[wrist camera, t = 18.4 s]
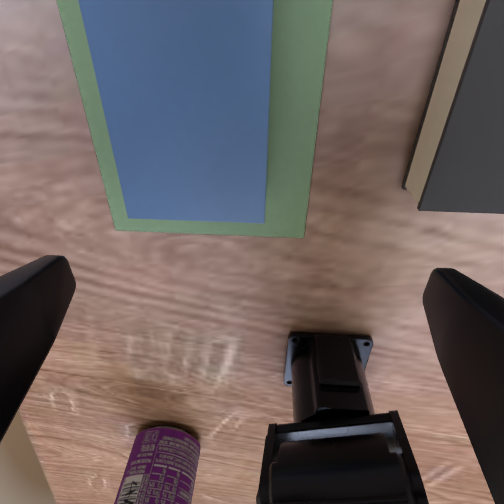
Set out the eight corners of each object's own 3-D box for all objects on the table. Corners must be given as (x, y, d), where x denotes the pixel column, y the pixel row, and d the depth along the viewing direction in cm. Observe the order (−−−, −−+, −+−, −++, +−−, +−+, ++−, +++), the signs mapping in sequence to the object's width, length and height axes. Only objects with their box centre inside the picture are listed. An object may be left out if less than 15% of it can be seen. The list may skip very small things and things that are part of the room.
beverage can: (136, 446, 39) (90, 590, 29) (139, 415, 35) (86, 570, 25) (196, 456, 40) (171, 601, 30) (206, 426, 36) (180, 583, 26)
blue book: (265, 195, 20) (264, 223, 17) (146, 191, 20) (127, 218, 17) (275, -43, 14) (275, -56, 11) (104, -44, 14) (64, -58, 11)
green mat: (303, 235, 21) (303, 238, 21) (117, 228, 22) (115, 230, 22) (348, -139, 12) (350, -142, 12) (24, -140, 13) (19, -143, 12)
